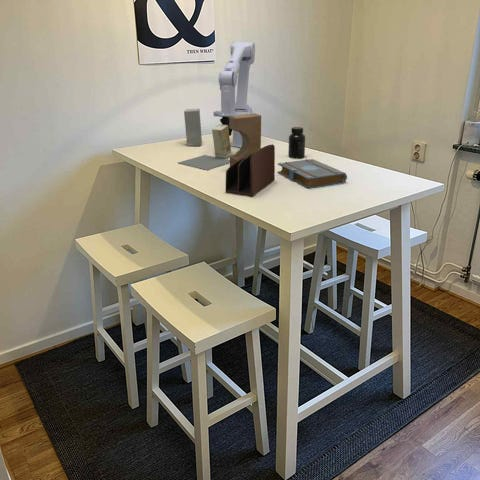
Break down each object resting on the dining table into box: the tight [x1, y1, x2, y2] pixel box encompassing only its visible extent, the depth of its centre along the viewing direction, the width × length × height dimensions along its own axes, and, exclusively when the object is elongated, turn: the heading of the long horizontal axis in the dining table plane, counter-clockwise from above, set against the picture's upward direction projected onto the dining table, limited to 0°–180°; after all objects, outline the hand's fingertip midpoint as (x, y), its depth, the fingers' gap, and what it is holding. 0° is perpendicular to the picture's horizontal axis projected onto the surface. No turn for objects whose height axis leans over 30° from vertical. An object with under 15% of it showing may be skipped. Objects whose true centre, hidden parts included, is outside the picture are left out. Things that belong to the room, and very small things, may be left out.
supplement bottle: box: [288, 126, 306, 159], centre depth 200 cm, size 7×7×12 cm
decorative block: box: [229, 112, 262, 167], centre depth 183 cm, size 11×6×20 cm, turn 117°
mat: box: [177, 154, 230, 171], centre depth 194 cm, size 16×16×1 cm
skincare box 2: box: [211, 123, 232, 159], centre depth 198 cm, size 6×4×12 cm
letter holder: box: [225, 143, 276, 198], centre depth 163 cm, size 10×20×14 cm, turn 155°
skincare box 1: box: [183, 108, 203, 147], centre depth 220 cm, size 8×7×16 cm
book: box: [277, 158, 348, 189], centre depth 174 cm, size 21×16×5 cm
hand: (228, 135), depth 200 cm, fingers closed
